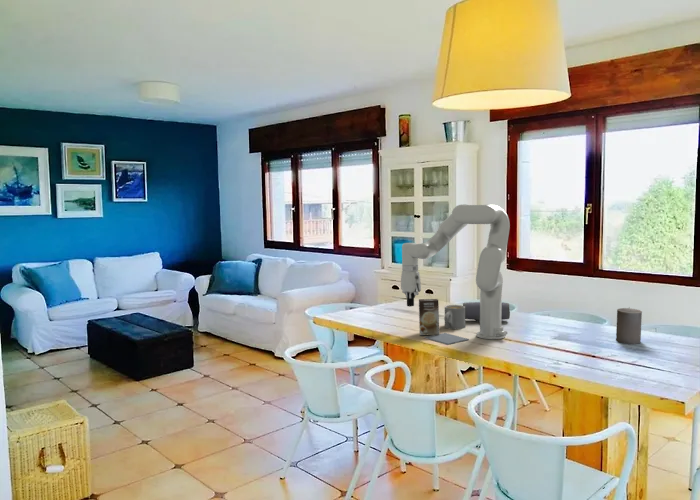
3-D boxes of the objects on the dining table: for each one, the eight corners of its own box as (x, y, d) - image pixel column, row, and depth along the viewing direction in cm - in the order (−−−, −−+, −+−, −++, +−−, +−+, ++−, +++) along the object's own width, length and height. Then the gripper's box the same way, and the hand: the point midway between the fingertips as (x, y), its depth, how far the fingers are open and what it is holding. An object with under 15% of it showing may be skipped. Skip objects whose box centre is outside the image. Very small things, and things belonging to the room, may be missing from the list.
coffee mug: (454, 323, 281) (454, 304, 280) (469, 326, 273) (469, 306, 272) (435, 327, 273) (435, 307, 272) (450, 331, 265) (450, 310, 264)
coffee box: (419, 335, 256) (418, 301, 255) (419, 332, 262) (418, 299, 262) (440, 334, 255) (438, 300, 254) (439, 332, 261) (437, 298, 261)
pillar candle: (610, 339, 243) (611, 306, 242) (627, 337, 247) (628, 304, 245) (629, 345, 234) (630, 310, 233) (646, 342, 237) (647, 308, 236)
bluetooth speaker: (506, 319, 288) (506, 300, 288) (510, 323, 279) (510, 303, 278) (462, 319, 291) (462, 300, 290) (464, 323, 282) (464, 303, 281)
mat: (468, 340, 247) (468, 338, 247) (448, 344, 240) (448, 343, 240) (445, 333, 259) (445, 332, 259) (424, 338, 252) (424, 337, 252)
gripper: (426, 269, 263) (426, 307, 265) (405, 266, 275) (406, 303, 277) (414, 270, 259) (414, 309, 260) (394, 267, 271) (394, 304, 273)
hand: (410, 306), depth 269 cm, fingers closed
